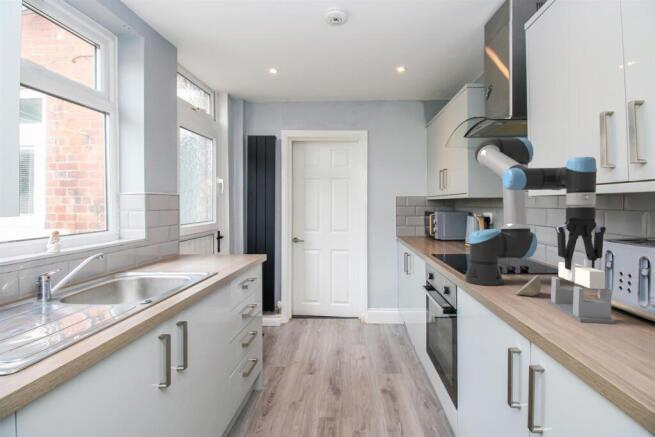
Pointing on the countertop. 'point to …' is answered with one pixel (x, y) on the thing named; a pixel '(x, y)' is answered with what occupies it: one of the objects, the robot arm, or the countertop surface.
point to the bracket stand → (581, 303)
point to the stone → (531, 287)
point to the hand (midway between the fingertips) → (579, 279)
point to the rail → (584, 276)
